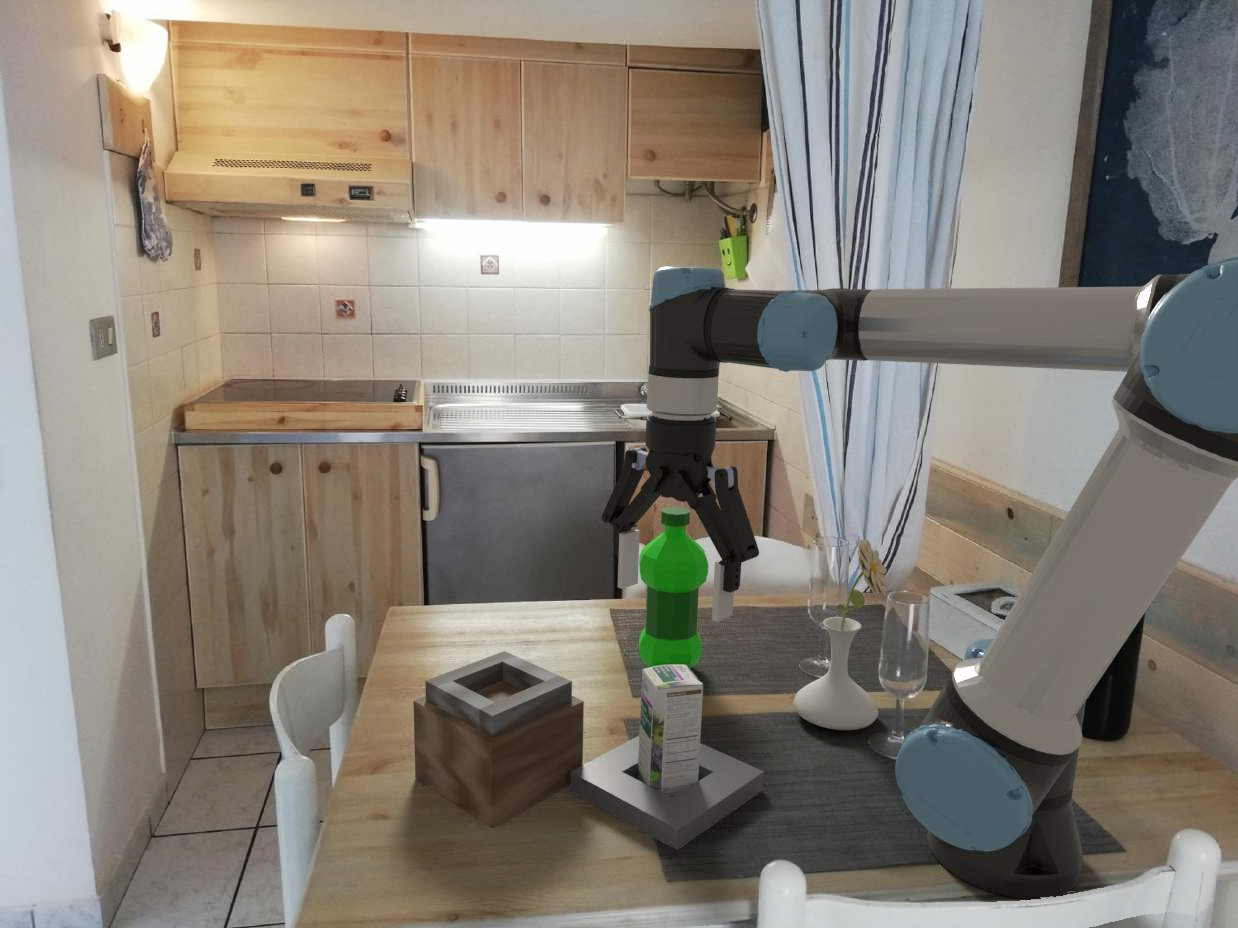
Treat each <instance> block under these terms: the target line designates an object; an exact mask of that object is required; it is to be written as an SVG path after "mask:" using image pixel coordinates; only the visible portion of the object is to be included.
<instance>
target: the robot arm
mask: <svg viewBox="0 0 1238 928" xmlns="http://www.w3.org/2000/svg"><path fill="white" fill-rule="evenodd" d="M648 311H649V364H648V373H647V374H648V375H647V390H646V391H647V392H646V409H648V411H650V412H651V413H649V414H648V415H647V416H646V418H645V419H646V421H645V422H646V423H645V446H646V447H643V446H641V447H636V448H631V449H627V450H626V451H625V452H624V453H625V454H624V460H623V468H622V470H621V473H620V474H619V476H618V479H617V481H616V484H615V486H614V487H613V490H612V493H611V494H610V496H609V498H608V501H607V504H606V506H605V508H604V510H603V512H602V514H601V520H602V521H603V522H604V523H605V524H608V523H609V524H610V525H611V526H612V528H613V531H615V537H614V539H615V542H614V544H615V545H614V547H615V548H614V553H615V557H616V558H618V562H617V563H618V565H617V588H619V589H622V590H623V589H627V588H629V587H631V586H636V585H637V584H639V559H640V535H641V534H640V533H641V530H640V529H636V528H635V527H638V523H639V521H640V519H642V517H644V516H645V514H646V513H647V512H648V510H650V508H651V507H652V506H653V505H654V503H656V501H657V500H658V499H659V497H662V498H667V499H668V498H672V499H674V500H676V501H677V502H682V503H684V502H685V503H687V505H688V506H689V508H690V509H692V510H694V511H695V513H696V514H697V516H698V519H699V520H700V522H701V524H702V526H703V528H704V529H705V531H706V533H707V535H708V537H709V538H710V540H711V542H712V544H713V546H714V548H715V550H716V552H717V553H718V555H719V557H720V559H719V560H717V561H715V562H714V575H713V576H714V577H713V593H712V611H711V621H714V622H716V623H719V622H721V621H723V620H725V619H728V618H729V617H733V612H734V611H733V610H734V609H733V608H734V598H735V597H734V596H735V592H736V591H737V590H739V588H740V585H741V574H742V563H743V562H747V561H749V560H752V559H755V558H757V557H758V556H759V555H760V550H759V547H758V546H759V545H758V543H757V541H756V538H755V535H754V534H755V533H754V532H753V529H752V525H751V522H750V519H749V517H748V514H747V511H746V508H745V503H744V501H743V498H742V494H741V492H740V489H739V478H738V477H739V475H738V473H739V472H738V469H737V467H736V466H735V465H731V466H725V467H715V466H714V465H713V460H712V457H713V456H712V455H713V452H714V451H715V448H716V436H717V419H716V418H715V416H714V415H713V414H714V413H715V412H717V411H718V398H719V397H718V393H719V391H718V390H719V375H720V365H721V363H723V364H728V363H729V364H735V365H736V364H737V365H743V366H752V367H759V368H760V367H761V368H768V369H775V370H779V371H781V372H786V373H787V372H793V371H795V372H797V371H799V372H801V371H802V372H815V371H817V370H819V369H821V368H822V367H823V366H824V365H825V362H826V361H830V360H834V361H835V360H837V361H840V360H841V361H861V362H862V361H865V362H866V361H873V362H875V361H880V362H897V363H898V362H901V363H923V364H924V363H925V364H940V365H941V364H943V365H944V364H945V365H964V366H965V365H966V366H967V365H969V366H985V367H986V366H988V367H1010V368H1031V369H1032V368H1033V369H1035V368H1036V369H1055V370H1056V369H1057V370H1058V369H1059V370H1075V371H1077V370H1080V371H1098V372H1099V371H1101V372H1103V371H1104V372H1122V373H1124V372H1125V373H1126V374H1125V376H1123V379H1122V381H1121V382H1120V384H1119V386H1118V388H1117V389H1116V391H1115V393H1114V394H1113V396H1112V397H1111V398H1112V399H1111V403H1112V406H1113V409H1114V413H1115V414H1116V418H1117V421H1118V429H1117V431H1116V432H1115V434H1114V436H1113V438H1112V439H1111V441H1110V442H1109V444H1108V446H1107V448H1106V450H1105V451H1104V453H1103V454H1102V456H1101V457H1100V459H1099V461H1098V462H1097V464H1096V465H1095V467H1094V470H1093V471H1092V473H1091V474H1090V476H1089V478H1088V480H1087V481H1086V483H1085V485H1084V486H1083V488H1082V490H1081V491H1080V493H1079V494H1078V496H1077V498H1076V499H1075V501H1074V503H1073V504H1072V506H1071V507H1070V510H1069V511H1068V512H1067V514H1066V516H1065V518H1064V520H1063V521H1062V523H1061V524H1060V526H1059V528H1058V530H1057V531H1056V533H1055V535H1054V536H1053V538H1052V539H1051V542H1050V543H1049V545H1048V546H1047V548H1046V550H1045V552H1043V555H1042V557H1041V558H1040V560H1039V561H1038V563H1037V565H1036V567H1035V568H1034V570H1033V571H1032V573H1031V575H1030V577H1029V579H1028V580H1027V581H1026V584H1025V585H1024V587H1023V588H1022V590H1021V592H1020V593H1019V595H1018V596H1017V598H1016V600H1015V602H1014V604H1013V605H1012V607H1011V608H1010V610H1009V612H1008V614H1007V615H1006V617H1005V619H1004V620H1003V622H1002V623H1001V626H1000V627H999V628H998V630H997V632H996V634H995V635H994V637H993V638H983V639H978V640H975V641H972V642H971V643H970V644H968V646H967V647H966V650H965V655H964V658H963V659H962V660H961V661H960V662H958V663H957V665H956V666H955V667H954V668H953V671H952V672H951V674H950V676H949V678H948V679H947V680H946V682H945V684H944V685H943V687H942V689H941V691H940V692H939V694H938V695H937V697H936V698H935V701H934V702H933V704H932V706H931V708H930V709H929V711H928V712H927V714H926V716H925V717H924V719H923V720H922V722H921V723H920V724H919V726H917V727H916V728H914V729H913V730H912V731H911V732H909V733H908V734H907V735H906V736H905V738H904V740H903V741H902V743H901V744H902V745H901V747H900V749H899V750H898V753H897V755H896V760H895V765H894V766H895V767H894V768H895V769H894V770H895V771H894V772H895V773H894V774H895V779H896V784H897V788H898V789H899V790H900V793H901V794H902V799H903V801H904V803H905V805H906V806H907V808H908V810H909V811H910V812H911V814H912V815H913V816H914V818H915V819H916V820H917V821H918V822H919V823H920V824H921V825H922V827H924V828H926V830H927V838H926V839H927V843H928V844H927V845H928V846H929V849H930V850H931V852H932V854H933V856H934V857H935V858H936V859H937V861H939V863H940V864H942V866H944V867H945V869H947V870H949V872H951V873H953V874H954V875H955V876H956V877H958V878H960V879H962V880H963V881H966V882H967V883H968V884H972V885H973V886H976V887H977V888H980V889H983V890H985V891H988V892H991V893H994V894H996V895H997V894H998V895H1001V896H1006V897H1010V898H1015V899H1023V900H1024V899H1025V900H1037V899H1036V898H1040V897H1050V896H1057V897H1059V896H1058V895H1060V896H1063V895H1065V894H1067V893H1069V892H1071V891H1072V890H1073V889H1074V888H1075V887H1076V886H1077V884H1078V883H1079V881H1080V878H1081V873H1082V866H1083V859H1084V858H1083V856H1084V855H1083V849H1082V844H1081V839H1080V835H1079V831H1078V827H1077V826H1078V825H1077V821H1076V818H1075V817H1076V816H1075V813H1074V808H1073V803H1072V798H1073V792H1074V791H1073V790H1074V786H1075V777H1076V771H1077V764H1078V756H1079V751H1080V746H1081V744H1082V742H1083V733H1082V730H1083V723H1084V716H1085V707H1086V703H1087V699H1089V697H1090V695H1091V693H1092V692H1093V690H1094V689H1095V687H1096V686H1097V685H1098V683H1099V681H1100V680H1101V678H1102V677H1103V675H1104V674H1105V673H1106V671H1107V669H1108V668H1109V666H1110V665H1111V663H1112V662H1113V660H1114V659H1115V658H1116V656H1117V655H1118V653H1119V651H1120V650H1121V648H1122V647H1123V646H1124V644H1125V643H1126V642H1127V640H1128V638H1129V637H1130V635H1131V633H1132V632H1133V631H1134V629H1135V628H1136V627H1137V624H1138V623H1139V622H1140V620H1141V619H1142V617H1143V615H1144V614H1145V613H1146V611H1148V608H1149V607H1150V606H1151V604H1152V602H1153V601H1154V600H1155V597H1157V595H1158V594H1159V592H1160V590H1161V589H1162V587H1163V586H1164V585H1165V583H1166V581H1167V580H1168V578H1169V577H1170V576H1171V574H1172V573H1173V571H1174V570H1175V568H1176V567H1177V565H1178V564H1179V563H1180V560H1181V559H1182V557H1183V556H1184V555H1185V553H1186V552H1187V550H1188V549H1189V547H1190V545H1191V544H1192V543H1193V541H1194V540H1195V538H1196V537H1197V535H1198V534H1199V532H1200V531H1201V529H1202V528H1203V527H1204V525H1205V523H1206V522H1207V520H1208V519H1209V518H1210V516H1211V514H1212V513H1213V511H1214V510H1215V508H1216V507H1217V505H1218V504H1219V503H1220V501H1221V499H1222V498H1223V496H1224V495H1225V494H1226V492H1227V491H1228V490H1229V488H1230V486H1231V485H1232V483H1233V481H1235V480H1237V479H1238V256H1235V257H1229V258H1225V259H1222V260H1219V261H1215V262H1212V263H1209V264H1206V265H1204V266H1202V267H1201V268H1200V269H1196V270H1194V271H1192V272H1191V273H1184V274H1182V273H1181V274H1157V275H1156V276H1154V277H1153V278H1152V279H1151V280H1150V281H1149V282H1147V283H1146V284H1145V285H1142V286H1071V287H1070V286H1069V287H1067V286H1065V287H1064V286H1063V287H1061V286H1059V287H1057V286H1056V287H1055V286H1054V287H1050V286H1049V287H968V288H967V287H965V288H963V287H962V288H961V287H960V288H959V287H955V288H954V287H953V288H951V287H950V288H946V287H945V288H943V287H942V288H875V289H867V288H860V289H859V288H857V289H856V288H855V289H854V288H853V289H852V288H847V287H846V288H845V287H843V288H842V287H841V288H839V287H838V288H827V289H813V290H812V289H811V290H810V289H804V290H803V289H801V290H800V289H795V290H793V289H791V290H790V289H789V290H787V289H786V290H770V289H769V290H765V289H735V288H730V287H726V283H725V274H724V272H723V270H721V269H720V268H719V267H717V268H716V267H702V266H701V267H700V266H662V267H659V268H658V269H657V270H656V271H655V272H654V274H653V279H652V287H651V299H650V305H649V308H648ZM647 449H648V450H647ZM645 469H647V471H648V473H649V477H648V478H647V479H646V480H645V482H644V483H643V484H642V485H641V487H640V490H639V492H638V493H637V494H636V495H635V497H634V498H633V496H634V494H635V493H636V490H637V487H638V486H639V483H640V482H641V479H642V477H643V475H644V472H645ZM710 482H711V483H710ZM712 487H714V489H713V488H712ZM714 490H715V491H714ZM632 528H633V529H632ZM1062 894H1063V895H1062Z"/></svg>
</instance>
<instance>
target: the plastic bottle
mask: <svg viewBox="0 0 1238 928" xmlns="http://www.w3.org/2000/svg"><path fill="white" fill-rule="evenodd" d="M690 514H691V511H690V509H687V508H685V507H678V506H667V507H664V508H661V515H660V522H661V524H663V525H664V526H663V527H664V529H663V530H664V531H663V532H662V533H660V534H659V535H658V536H657V537H655V538H654V539H652V540H651V541H650V542H648V543H647V544H646V545H645V546H643V548H642V549H641V551H640V553H639V566H638V568H639V574H640V580H641V581H642V582H643V583H644V585H646V599H645V600H646V602H645V603H646V605H645V607H646V608H645V625H644V628H643V629H642V631H641V632H640V635H639V637H638V640H639V641H638V652H639V653H638V654H639V656H640V658H641V661H642V662H643V663H644V664H645V665H646V666H647V667H648V668H649V667H654V666H660V665H673V664H677V665H679V664H680V665H687V667H688V668H689V669H690V670H691V668H693V667H694V666H695V665H697V663H699V662H700V659H701V658H702V655H703V645H702V640H701V637H700V633H699V632H698V613H699V612H698V609H699V588H700V587H701V586H703V585H704V584H705V583H706V581H707V579H708V575H709V562H708V558H707V555H706V551H705V550H704V548H703V547H702V546H701V545H700V544H699V543H698V542H697V541H695V539H693V538H692V537H691V535H689V534H687V533H686V527H687V526H688V525H690V517H691V515H690Z"/></svg>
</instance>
